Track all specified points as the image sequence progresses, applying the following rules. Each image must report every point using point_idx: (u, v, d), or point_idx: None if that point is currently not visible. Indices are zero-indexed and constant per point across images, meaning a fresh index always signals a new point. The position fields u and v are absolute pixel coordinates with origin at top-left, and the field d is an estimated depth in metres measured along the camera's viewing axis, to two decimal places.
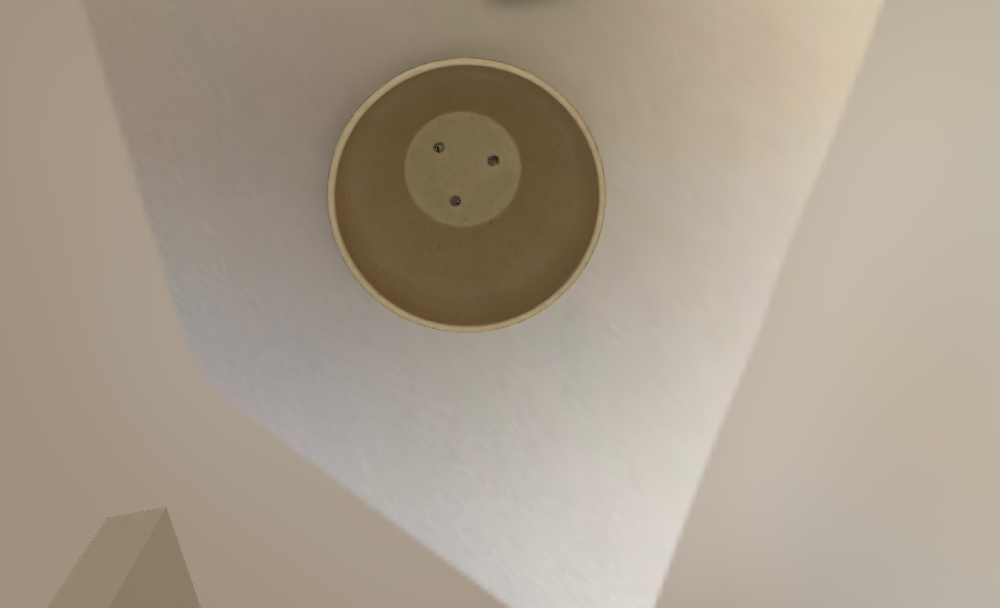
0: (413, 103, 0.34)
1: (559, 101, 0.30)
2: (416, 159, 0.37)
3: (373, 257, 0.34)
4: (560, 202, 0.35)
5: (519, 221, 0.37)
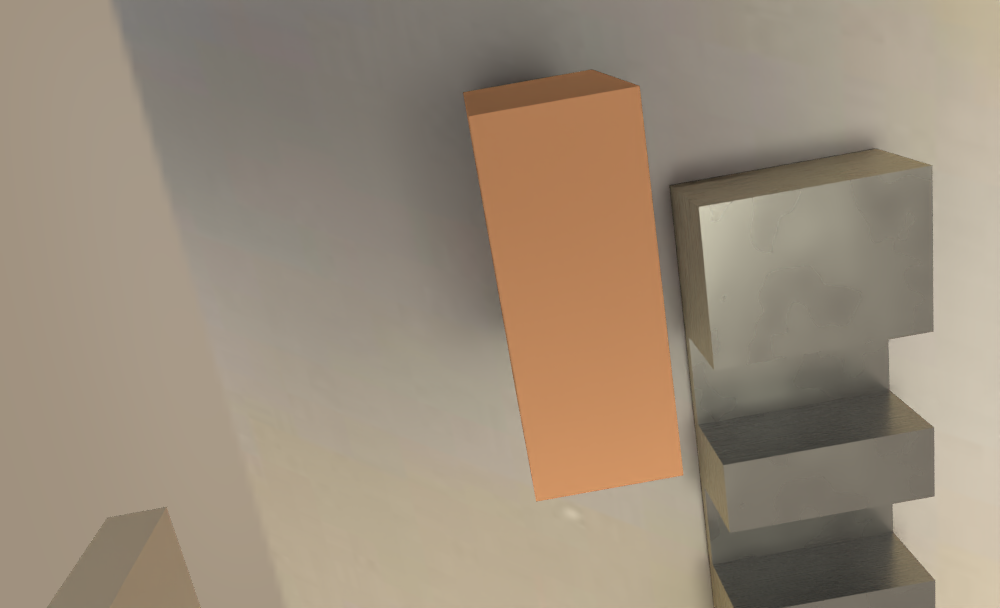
0: None
1: None
2: None
3: None
4: None
5: None
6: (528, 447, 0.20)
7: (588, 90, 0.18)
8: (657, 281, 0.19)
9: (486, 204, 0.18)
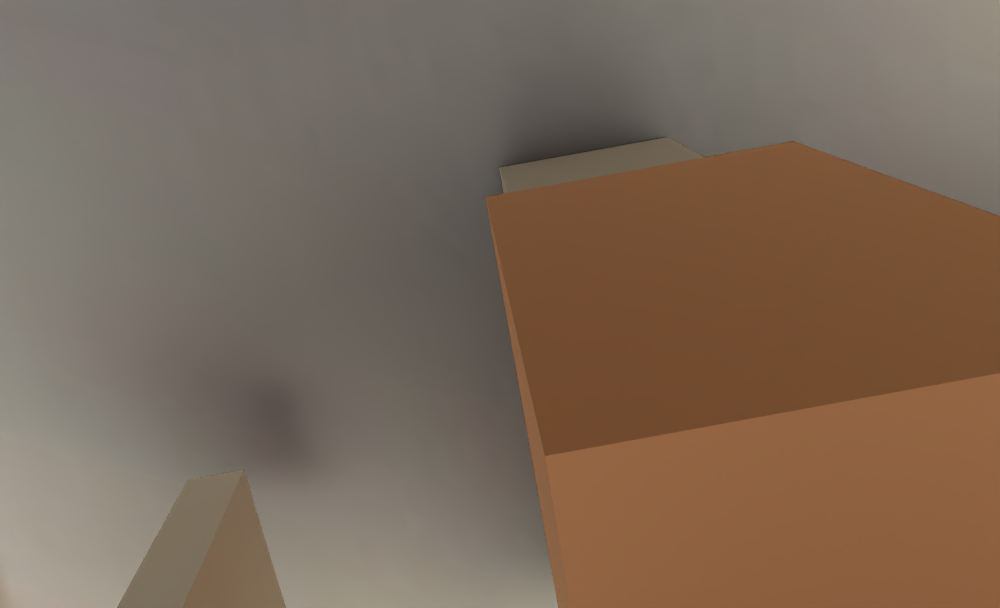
0: None
1: None
2: None
3: None
4: None
5: None
6: None
7: (981, 296, 0.05)
8: None
9: None
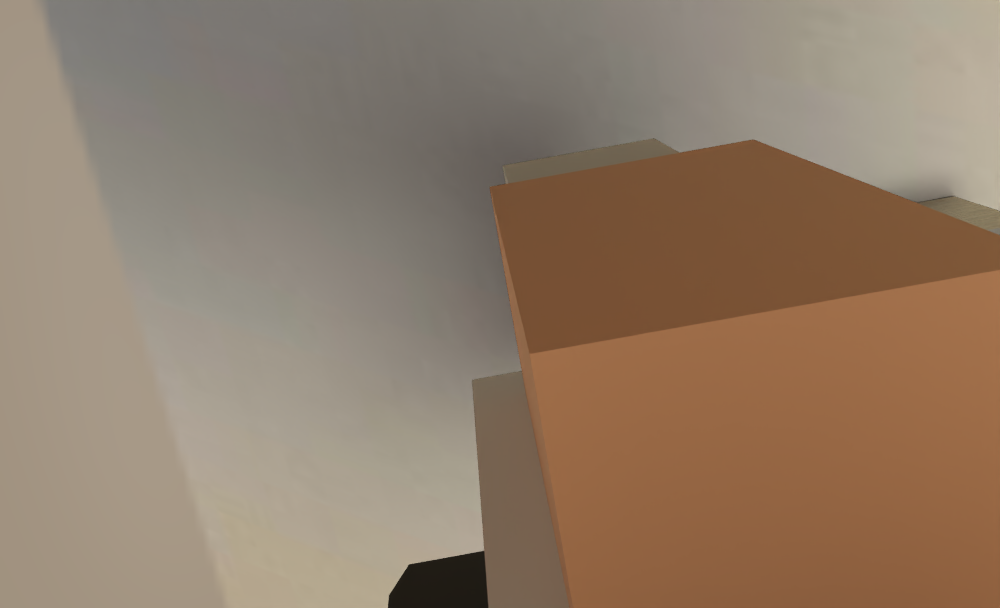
0: None
1: None
2: None
3: None
4: None
5: None
6: None
7: (861, 249, 0.06)
8: None
9: (576, 588, 0.06)
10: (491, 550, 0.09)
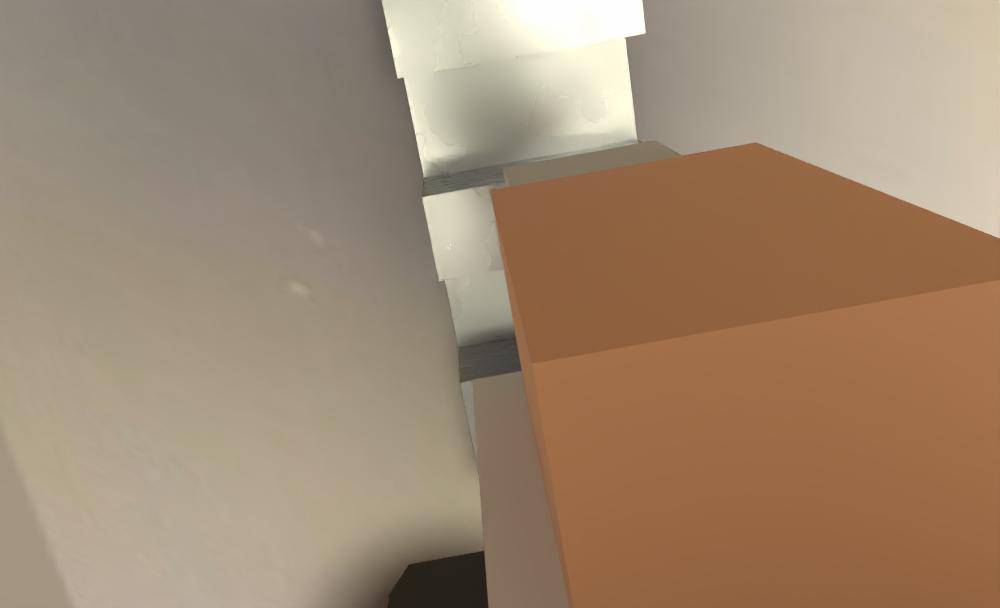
0: None
1: None
2: None
3: None
4: None
5: None
6: None
7: (867, 256, 0.06)
8: None
9: (578, 599, 0.06)
10: (491, 550, 0.09)
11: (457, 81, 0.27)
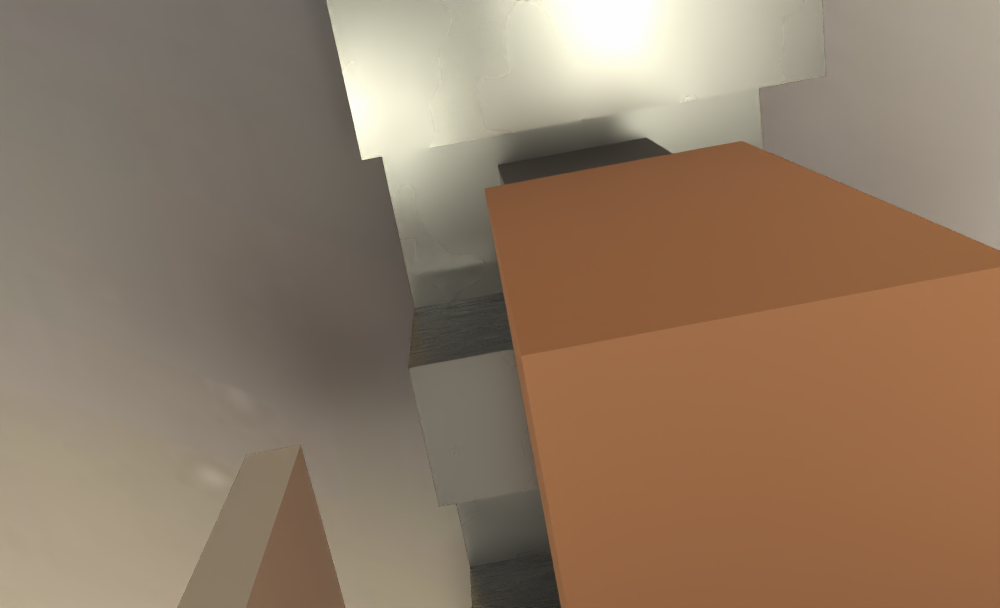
0: None
1: None
2: None
3: None
4: None
5: None
6: None
7: (839, 252, 0.07)
8: None
9: (568, 577, 0.06)
10: None
11: (471, 151, 0.16)
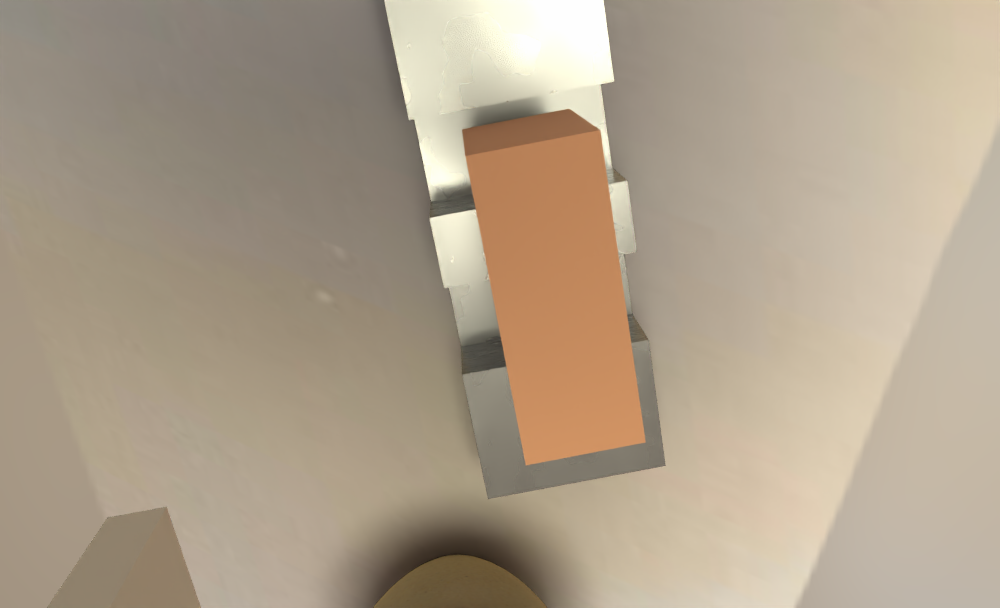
0: None
1: None
2: None
3: None
4: None
5: None
6: (518, 420, 0.24)
7: (561, 132, 0.23)
8: (619, 285, 0.23)
9: (480, 224, 0.23)
10: None
11: (459, 120, 0.32)
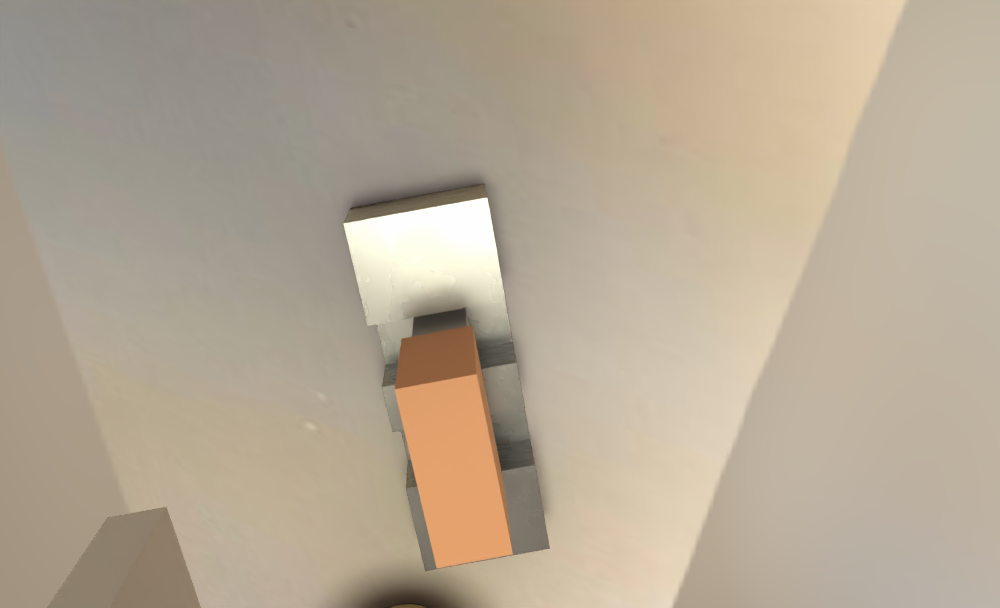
0: None
1: None
2: None
3: None
4: None
5: None
6: (431, 541, 0.39)
7: (455, 369, 0.37)
8: (492, 461, 0.38)
9: (404, 427, 0.37)
10: None
11: None
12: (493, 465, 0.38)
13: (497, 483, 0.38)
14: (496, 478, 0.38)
